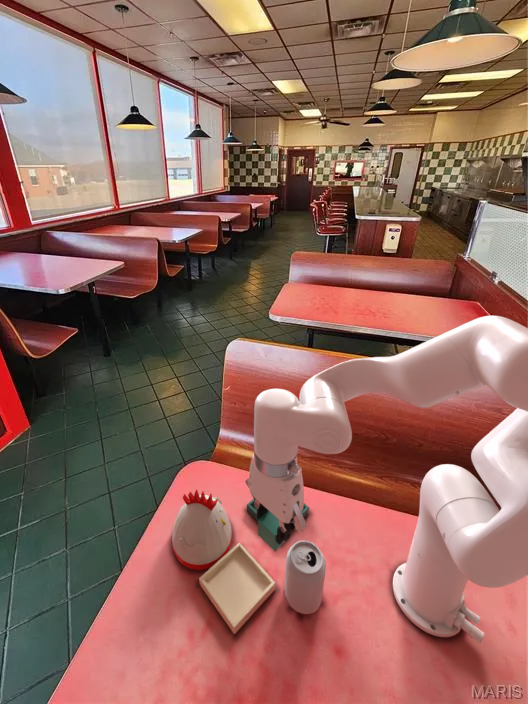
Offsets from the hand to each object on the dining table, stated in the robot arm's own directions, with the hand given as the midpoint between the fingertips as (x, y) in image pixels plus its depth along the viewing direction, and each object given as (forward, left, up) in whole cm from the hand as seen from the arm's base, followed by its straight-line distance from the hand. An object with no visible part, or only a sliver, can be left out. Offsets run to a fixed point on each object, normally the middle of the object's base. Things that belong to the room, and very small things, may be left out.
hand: (273, 528), depth 64 cm
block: (0, 0, -2) cm, 2 cm away
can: (-6, -3, -15) cm, 17 cm away
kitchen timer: (+17, +6, -15) cm, 24 cm away
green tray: (+10, -13, -15) cm, 22 cm away
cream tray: (+4, +6, -15) cm, 17 cm away
